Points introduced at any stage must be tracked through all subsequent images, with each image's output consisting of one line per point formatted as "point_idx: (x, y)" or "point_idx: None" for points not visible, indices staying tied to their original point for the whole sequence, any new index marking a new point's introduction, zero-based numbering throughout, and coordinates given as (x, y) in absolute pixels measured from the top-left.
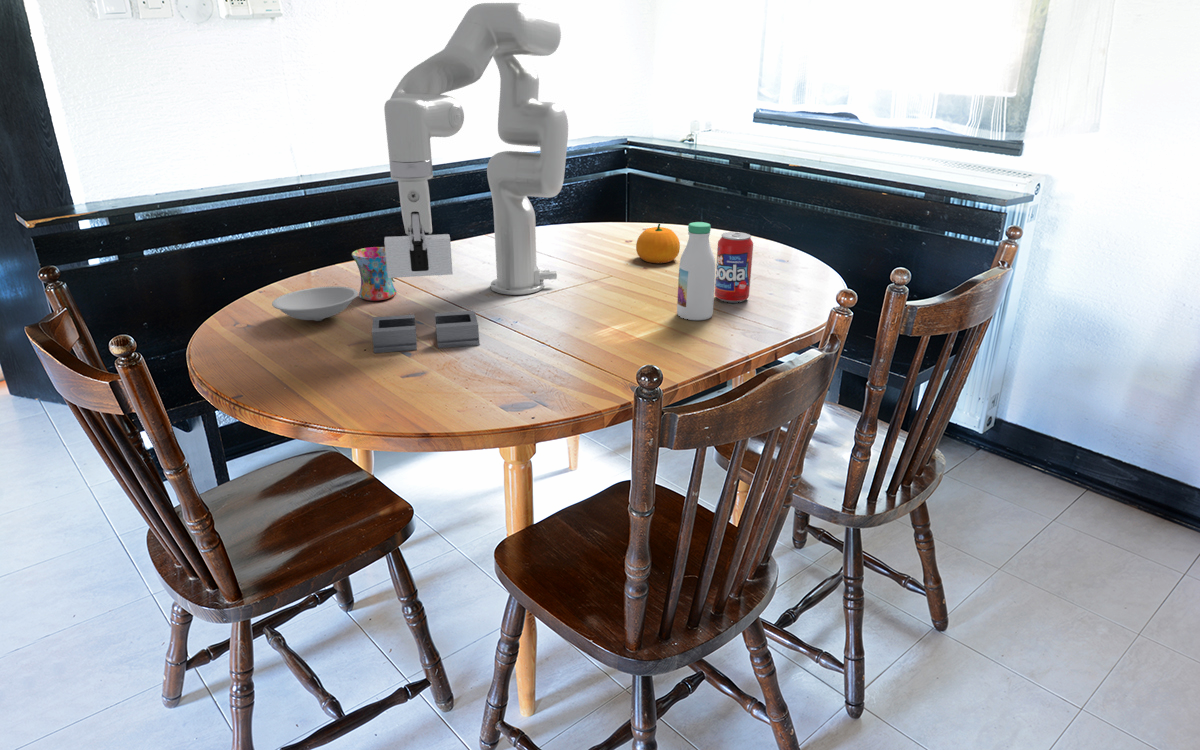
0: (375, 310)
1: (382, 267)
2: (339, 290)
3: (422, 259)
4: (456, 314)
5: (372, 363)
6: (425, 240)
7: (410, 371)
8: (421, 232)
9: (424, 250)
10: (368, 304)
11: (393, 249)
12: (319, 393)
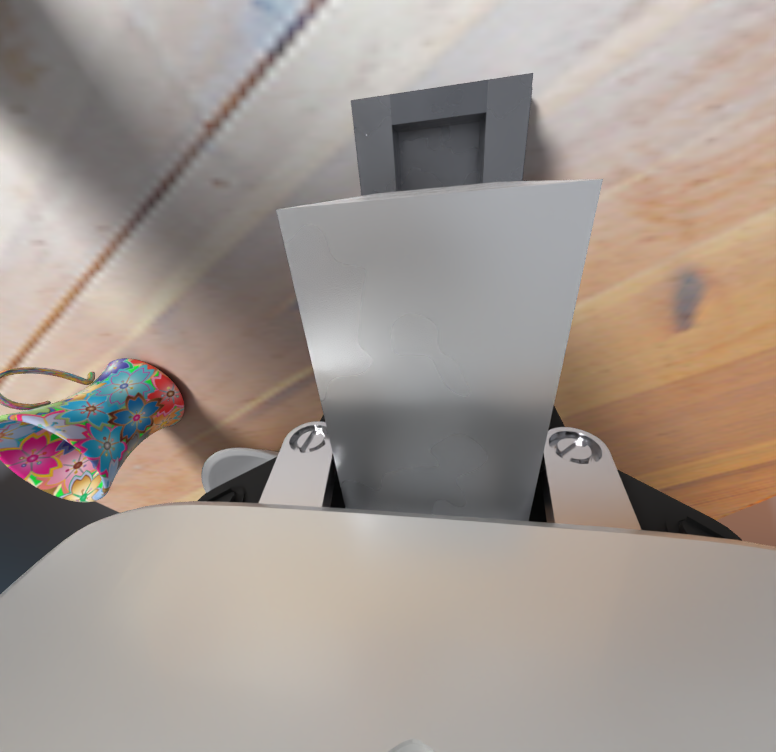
0: (233, 392)
1: (101, 423)
2: (214, 474)
3: (554, 410)
4: (391, 183)
5: (559, 389)
6: (534, 482)
7: (655, 310)
8: (243, 496)
9: (577, 438)
10: (199, 405)
11: None
12: (678, 464)
